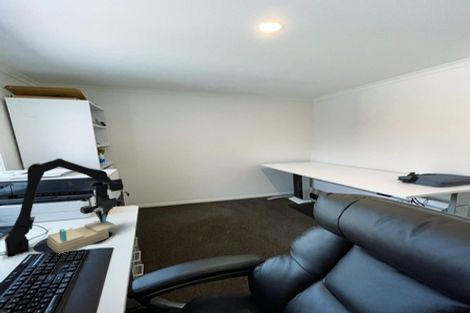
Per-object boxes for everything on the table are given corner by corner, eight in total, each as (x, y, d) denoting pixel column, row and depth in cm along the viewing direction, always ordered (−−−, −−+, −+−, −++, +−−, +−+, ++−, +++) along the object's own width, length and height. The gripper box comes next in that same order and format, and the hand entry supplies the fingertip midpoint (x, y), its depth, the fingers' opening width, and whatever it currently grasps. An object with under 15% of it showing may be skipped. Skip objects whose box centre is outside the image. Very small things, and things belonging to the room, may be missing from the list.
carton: (59, 255, 90) (58, 246, 90) (47, 245, 99) (46, 237, 99) (108, 237, 107) (108, 229, 106) (94, 230, 116) (94, 223, 116)
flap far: (97, 232, 103) (96, 222, 103) (84, 225, 111) (84, 216, 111) (116, 226, 110) (116, 216, 110) (103, 220, 119) (102, 211, 118)
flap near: (59, 244, 91) (58, 233, 90) (48, 236, 99) (47, 225, 99) (84, 236, 98) (83, 226, 98) (71, 229, 107) (71, 219, 106)
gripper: (88, 199, 101) (90, 230, 102) (126, 191, 117) (127, 219, 118) (78, 196, 108) (80, 226, 109) (116, 189, 123) (117, 215, 124)
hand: (103, 221), depth 115 cm, fingers closed, pressing on flap far
